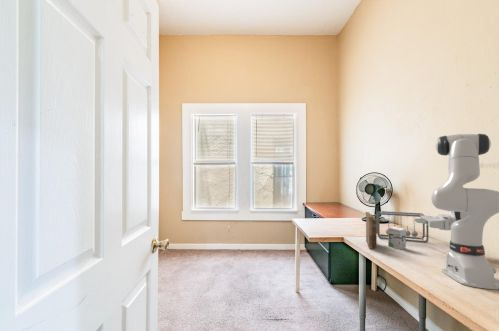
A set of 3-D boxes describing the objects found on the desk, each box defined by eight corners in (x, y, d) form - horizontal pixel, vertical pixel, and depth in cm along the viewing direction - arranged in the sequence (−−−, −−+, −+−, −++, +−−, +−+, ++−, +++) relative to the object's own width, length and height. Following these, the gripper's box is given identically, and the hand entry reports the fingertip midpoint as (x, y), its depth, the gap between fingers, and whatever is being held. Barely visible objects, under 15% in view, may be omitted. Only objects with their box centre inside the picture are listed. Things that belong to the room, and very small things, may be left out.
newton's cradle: (424, 239, 184) (424, 213, 184) (428, 243, 174) (428, 215, 174) (376, 235, 194) (376, 210, 194) (377, 238, 184) (377, 212, 185)
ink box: (387, 246, 166) (387, 227, 166) (393, 245, 168) (393, 226, 168) (401, 249, 158) (400, 229, 158) (406, 248, 160) (406, 229, 161)
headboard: (377, 249, 157) (377, 217, 158) (368, 249, 159) (368, 216, 159) (373, 241, 176) (373, 212, 177) (365, 240, 178) (365, 211, 178)
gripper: (436, 213, 166) (411, 212, 170) (449, 219, 146) (420, 218, 151) (436, 224, 166) (411, 222, 170) (449, 231, 146) (420, 229, 151)
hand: (415, 220), depth 160 cm, fingers closed
